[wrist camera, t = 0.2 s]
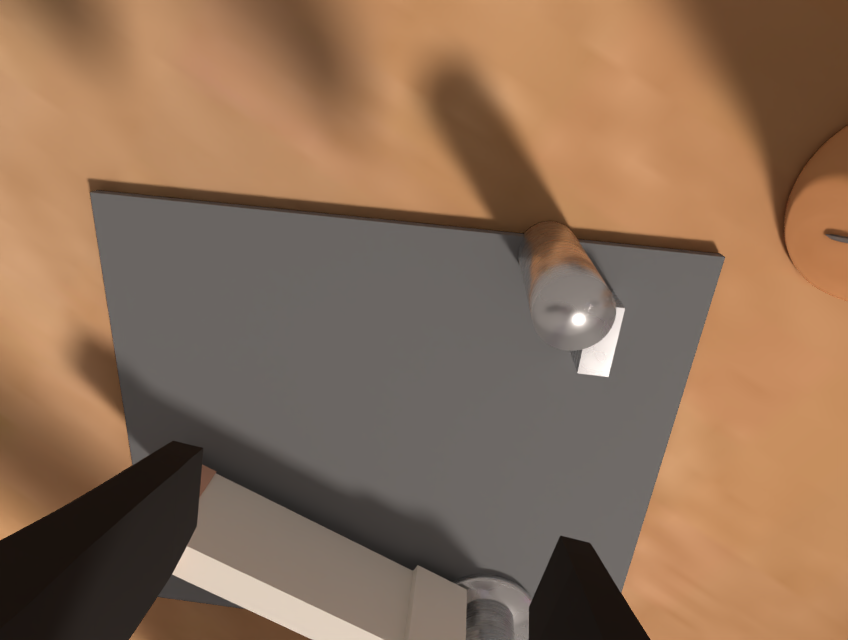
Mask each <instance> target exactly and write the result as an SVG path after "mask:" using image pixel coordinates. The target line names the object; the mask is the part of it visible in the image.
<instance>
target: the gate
mask: <svg viewBox="0 0 848 640" xmlns="http://www.w3.org/2000/svg"><path fill="white" fill-rule="evenodd" d="M216 472H217V471H215V470H213V469H210V468H208V467H206V466H204V465H202V472H201V484H200V496H199V508H198V519H197V527H196V529H195V531H194V533H193V535H192V537H191V539H190V541H189V543H188V545H187V547H186V549H185V551H184V553H183V555H182V557H181V558H180V560H179V562H178V564H177V566H176V568H175V570H174V572H173V574H172V575H174V576H176V577H179V578H181V579H183V580H185V581H187V582H189V583H191V584H194V585H196V586H198V587H200V588H202V589H204V590H207V591H209V592H211V593H213V594H215V595H217V596H219V597H222V598H224V599H226V600H228V601H230V602H232V603H234V604H237V605H239V606H241V607H243V608H245V609H247V610H249V611H252V612H254V613H256V614H258V615H260V616H262V617H265V618H267V619H269V620H271V621H273V622H275V623H277V624H280V625H282V626H284V627H286V628H288V629H290V630H292V631H295V632H297V633H299V634H301V635H303V636H305V637H308V638H310V639H312V640H466V610H467V589H465V588H463V587H461V586H459V585H457V584H455V583H453V582H451V581H449V580H447V579H445V578H443V577H441V576H439V575H437V574H435V573H433V572H431V571H429V570H427V569H425V568H423V567H421V566H419V565H417V567H416V568H415V569H414V570H413V571H412V570H410V569H408V568H406V567H404V566H402V565H400V564H398V563H396V562H394V561H392V560H390V559H388V558H386V557H384V556H382V555H380V554H378V553H376V552H374V551H372V550H370V549H368V548H366V547H364V546H362V545H360V544H358V543H356V542H354V541H352V540H350V539H348V538H346V537H344V536H342V535H340V534H338V533H335V532H333V531H331V530H329V529H327V528H325V527H323V526H321V525H319V524H317V523H315V522H313V521H311V520H309V519H307V518H305V517H303V516H301V515H299V514H297V513H295V512H293V511H291V510H289V509H287V508H285V507H283V506H281V505H279V504H277V503H275V502H273V501H271V500H269V499H267V498H265V497H263V496H261V495H259V494H257V493H255V492H253V491H251V490H249V489H247V488H245V487H243V486H241V485H239V484H236V483H234V482H232V481H230V480H228V479H226V478H224V477H222V476H220V475H218V474H216Z"/></svg>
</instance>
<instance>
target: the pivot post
mask: <svg viewBox="0 0 848 640" xmlns="http://www.w3.org/2000/svg"><path fill="white" fill-rule="evenodd" d="M453 583H455V584H457V585H459V586H461V587H463V588H465V589H467V610H466V640H528V639H529V606H530V603H531V601H532V599H533V598H532V597H531V595H530V594H529V593H528V592H527V590H526V589H524V588H523V587H522V586H521V585H519V584H518V583H516V582H514V581H512V580H510V579H508V578H505V577H502V576H498V575H493V574H474V575H469V576H465V577H462V578H459V579H457V580H455V581H453Z"/></svg>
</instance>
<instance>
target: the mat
mask: <svg viewBox="0 0 848 640" xmlns="http://www.w3.org/2000/svg"><path fill="white" fill-rule="evenodd" d="M90 196H91V203H92V209H93V215H94V222H95V228H96V235H97V241H98V247H99V254H100V260H101V266H102V273H103V279H104V286H105V292H106V298H107V305H108V311H109V317H110V324H111V330H112V337H113V343H114V349H115V356H116V362H117V368H118V375H119V381H120V388H121V394H122V400H123V407H124V413H125V419H126V426H127V432H128V439H129V445H130V451H131V458H132V464H133V465H134V464H135V463H137V462H139V461H140V460H142V459H143V458H145V457H147V456H148V455H150V454H152V453H153V452H155V451H156V450H158V449H160V448H161V447H163V446H165V445H166V444H168V443H170V442H172V441H177V442H181V443H185V444H189V445H194V446H198V447H202V448H203V460H202V465H204V466H206V467H208V468H210V469H213V470H215V471H217V472H216V474H218V475H220V476H222V477H224V478H226V479H228V480H230V481H232V482H234V483H236V484H239V485H241V486H243V487H245V488H247V489H249V490H251V491H253V492H255V493H257V494H259V495H261V496H263V497H265V498H267V499H269V500H271V501H273V502H275V503H277V504H279V505H281V506H283V507H285V508H287V509H289V510H291V511H293V512H295V513H297V514H299V515H301V516H303V517H305V518H307V519H309V520H311V521H313V522H315V523H317V524H319V525H321V526H323V527H325V528H327V529H329V530H331V531H333V532H335V533H338V534H340V535H342V536H344V537H346V538H348V539H350V540H352V541H354V542H356V543H358V544H360V545H362V546H364V547H366V548H368V549H370V550H372V551H374V552H376V553H378V554H380V555H382V556H384V557H386V558H388V559H390V560H392V561H394V562H396V563H398V564H400V565H402V566H404V567H406V568H408V569H410V570H412V571H413V570H414V569H415V568H416V567H417V565H419V566H421V567H423V568H425V569H427V570H429V571H431V572H433V573H435V574H437V575H439V576H441V577H443V578H445V579H447V580H449V581H451V582H453V581H455V580H457V579H459V578H462V577H465V576H469V575H474V574H493V575H498V576H502V577H505V578H508V579H510V580H512V581H514V582H516V583H518V584H519V585H521V586H522V587H523V588H524V589H526V590H527V592H528V593H529V594H530V595H531V597H532V598H533V597H534V594H535V592H536V590H537V587H538V585H539V583H540V581H541V578H542V576H543V574H544V571H545V569H546V567H547V565H548V562H549V560H550V558H551V555H552V553H553V551H554V548H555V546H556V544H557V542H558V539H559V537H560V536H565V537H569V538H573V539H577V540H581V541H585V542H589V543H591V545H592V546H593V548H594V549H595V551H596V553H597V554H598V556H599V558H600V559H601V561H602V563H603V564H604V566H605V567H606V569H607V571H608V572H609V574H610V576H611V577H612V579H613V581H614V582H615V584H616V586H617V587H618V589H619V591H620V592H622V589H623V586H624V582H625V579H626V576H627V573H628V569H629V566H630V563H631V560H632V556H633V553H634V550H635V547H636V543H637V540H638V537H639V534H640V531H641V527H642V524H643V521H644V518H645V514H646V511H647V508H648V505H649V501H650V498H651V495H652V492H653V489H654V485H655V482H656V479H657V476H658V472H659V469H660V466H661V463H662V459H663V456H664V453H665V450H666V447H667V443H668V440H669V437H670V434H671V430H672V427H673V424H674V421H675V417H676V414H677V411H678V408H679V404H680V401H681V398H682V395H683V392H684V388H685V385H686V382H687V379H688V375H689V372H690V369H691V366H692V362H693V359H694V356H695V353H696V350H697V346H698V343H699V340H700V337H701V333H702V330H703V327H704V324H705V320H706V317H707V314H708V311H709V307H710V304H711V301H712V298H713V295H714V291H715V288H716V285H717V282H718V278H719V275H720V272H721V269H722V265H723V262H724V259H725V257H724V256H723V255H721V254H719V253H709V252H699V251H689V250H679V249H670V248H660V247H650V246H640V245H630V244H621V243H611V242H601V241H591V240H581V239H578V241H579V243H580V244H581V246H582V247H583V249H584V250H585V252H586V254H587V255H588V257H589V258H590V260H591V261H592V263H593V265H594V266H595V268H596V269H597V271H598V272H599V274H600V276H601V277H602V279H603V280H604V282H605V283H606V285H607V287H608V288H609V290H613V291H614V292H615V294H616V295H617V297H618V298H619V300H620V301H621V303H622V304H623V306H624V307H625V311H624V315H623V319H622V323H621V328H620V332H619V336H618V340H617V344H616V348H615V352H614V356H613V360H612V364H611V368H610V373H609V377H605V376H596V375H587V374H578V373H577V371H576V368H575V365H574V362H573V359H572V357H571V354H570V351H567V350H561V349H558V348H555V347H553V346H551V345H549V344H547V343H546V342H545V341H543V340H542V338H541V337H540V336H539V335H538V333H537V332H536V330H535V328H534V325H533V321H532V317H531V312H530V308H529V304H528V299H527V295H526V291H525V286H524V282H523V278H522V273H521V269H520V265H519V260H518V251H519V247H520V244H521V242H522V240H523V239H524V237H525V235H524V234H522V233H513V232H503V231H493V230H483V229H473V228H463V227H454V226H444V225H434V224H424V223H414V222H404V221H395V220H385V219H375V218H365V217H355V216H346V215H336V214H326V213H316V212H306V211H296V210H287V209H277V208H267V207H257V206H247V205H237V204H228V203H218V202H208V201H198V200H188V199H179V198H169V197H159V196H149V195H139V194H129V193H120V192H110V191H100V190H96V191H93V192H90ZM158 597H162V598H170V599H177V600H184V601H191V602H199V603H206V604H213V605H220V606H228V607H235V608H242V609H245V608H243V607H241V606H239V605H237V604H234V603H232V602H230V601H228V600H226V599H224V598H222V597H219V596H217V595H215V594H213V593H211V592H209V591H207V590H204V589H202V588H200V587H198V586H196V585H194V584H191V583H189V582H187V581H185V580H183V579H181V578H179V577H176V576H174V575H171V577H170V578H169V580H168V582H167V583H166V585H165V586H164V588H163V589H162V591H161V592H160V594H159V595H158ZM528 640H529V639H528Z"/></svg>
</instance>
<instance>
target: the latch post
mask: <svg viewBox="0 0 848 640" xmlns="http://www.w3.org/2000/svg"><path fill="white" fill-rule="evenodd" d="M524 235H525V237H524V239H523V240H522V242H521V244H520V247H519V251H518V260H519V265H520V269H521V273H522V278H523V282H524V286H525V291H526V295H527V299H528V304H529V308H530V312H531V317H532V321H533V325H534V328H535V330H536V332H537V333H538V335H539V336H540V337H541V338H542V340H543V341H545V342H546V343H547V344H549V345H551V346H553V347H555V348H558V349H561V350H567V351H570V354H571V357H572V359H573V362H574V365H575V368H576V371H577V373H578V374H587V375H596V376H605V377H609V373H610V368H611V364H612V360H613V356H614V352H615V348H616V344H617V340H618V336H619V332H620V328H621V323H622V319H623V315H624V311H625V307H624V306H623V304H622V303H621V301H620V300H619V298H618V297H617V295H616V294H615V292H614V291H613V290H609V288H608V287H607V285H606V283H605V282H604V280H603V279H602V277H601V276H600V274H599V272H598V271H597V269H596V268H595V266H594V265H593V263H592V261H591V260H590V258H589V257H588V255H587V254H586V252H585V250H584V249H583V247H582V246H581V244H580V243H579V241H578V239H577V238H576V236H575V235H574V233H573V232H572V231H571V230H570V229H569V228H568V227H567V226H565V225H563V224H561V223H558V222H553V221H546V222H541V223H538V224H536V225H534V226H532V227H531V228H529V229H528V230H527V231H526V232H525V233H524Z"/></svg>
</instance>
